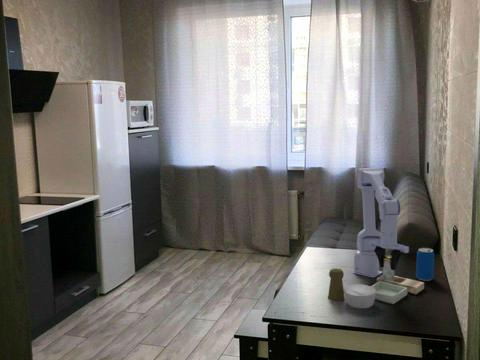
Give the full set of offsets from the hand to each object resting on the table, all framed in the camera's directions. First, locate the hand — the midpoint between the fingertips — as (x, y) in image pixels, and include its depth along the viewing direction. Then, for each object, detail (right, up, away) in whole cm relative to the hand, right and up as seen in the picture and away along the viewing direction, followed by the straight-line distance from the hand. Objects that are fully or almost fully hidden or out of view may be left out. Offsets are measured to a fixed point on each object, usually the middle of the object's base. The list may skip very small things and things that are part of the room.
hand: (388, 268), depth 189 cm
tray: (0, -10, +1) cm, 10 cm away
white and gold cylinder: (0, -4, +1) cm, 5 cm away
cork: (-19, -11, 0) cm, 22 cm away
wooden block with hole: (+7, -9, +9) cm, 15 cm away
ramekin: (-12, -12, -6) cm, 18 cm away
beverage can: (+20, -7, +17) cm, 27 cm away
